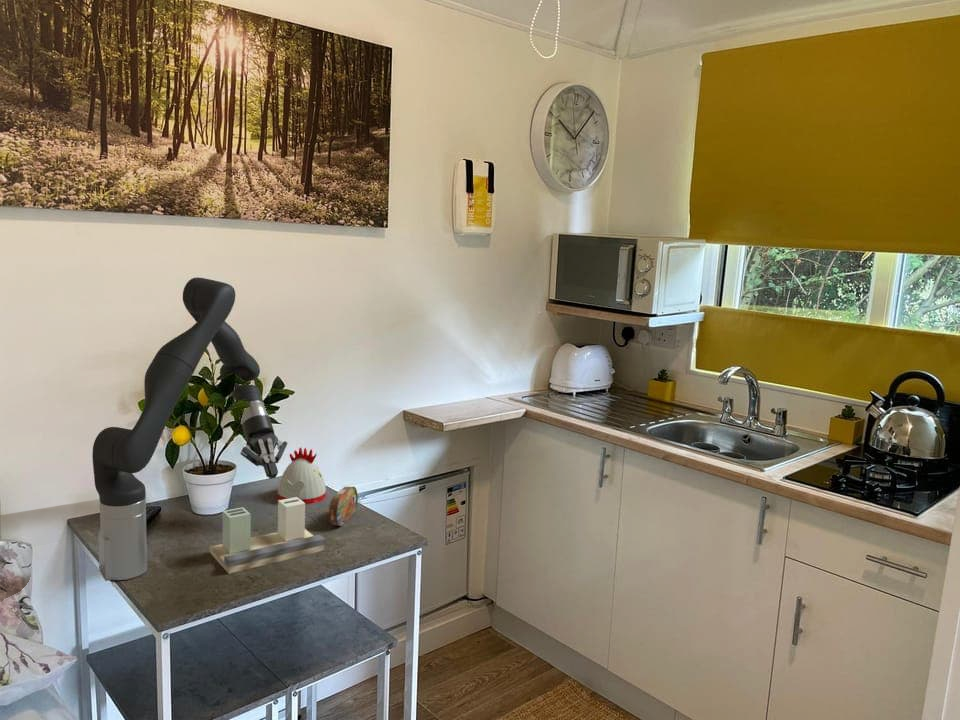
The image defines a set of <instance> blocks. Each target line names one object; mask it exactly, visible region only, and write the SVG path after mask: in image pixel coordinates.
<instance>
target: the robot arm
mask: <svg viewBox="0 0 960 720" xmlns="http://www.w3.org/2000/svg"><path fill="white" fill-rule="evenodd" d="M235 300H236V290H235V287H233V286H232V285H231V284H229V283H226V282H222V281H219V280H215V279H214V280H213V279H209V278H205V277H198V276H197V277H193V278H191V279H190V280H189V279H188V281H187V282H186V283H185V285H184V287H183V291H182V302H183V305H184V307H185V310H186V311H187V312H188V313H189V314H190V316H191V317H192V318H193V320H194V321H195V323H194V325H192V326H191V327H190V328H188V329H187V330H186V331H184V332H183V333H181V334H179V335H177V336H176V337H174V338H172V339H171V340H170V341H168V342H166V343H165V344H163V345H162V346H161V347H160V348H159V350H158V351H157V352H156V353H155V356H154V357H153V359H152V360H151V362H150V364H149V365H148V368H147V369H146V372H145V375H144V379H143V380H144V381H143V383H144V384H143V385H144V406H143V409H142V412H141V414H140V415H139V418H138V420H137V421H136V423H135V425H134V426H133V427H132V429H130V428H129V429H128V428H124V427H118V426H108V427H106V428H104V429H102V430H101V431H100V432H99V433H98V434H97V436H96V437H95V440H94V442H93V444H92V455H91V456H92V468H93V478H94V487H95V490H96V492H97V494H98V497H99V520H100V526H99V527H100V530H98V533H97V534H98V564H99V572H100V574H101V576H102V578H103V579H104V581H105V582H107V581H123V580H124V581H125V580H130V579H131V580H132V579H133V578H137V577H139V576H141V575H143V574H144V573H146V571H147V570H148V549H147V548H148V547H147V546H148V545H147V543H148V540H147V539H148V538H147V536H148V535H147V506H146V505H147V504H146V503H147V500H146V497H147V493H146V492H147V491H146V487H145V486H146V485H145V484H144V483H143V482H142V481H141V480H140V479H138V478H137V477H136V476H135V475H134V474H136V473H139V472H141V471H142V470H143V469H145V468H146V466H147V465H148V464H149V463H150V461H151V459H152V457H153V456H154V454H155V451H156V449H157V447H158V444H159V442H160V439H161V438H162V435H163V433H164V431H165V428H166V426H167V424H168V422H169V419H170V417H171V415H172V412H174V409H175V407H176V405H177V404H178V401H179V399H180V398H181V395H182V394H183V392H184V390H185V389H186V387H187V386H188V384H189V382H190V380H191V378H192V377H193V375H194V373H195V371H196V369H197V367H198V364H200V363H199V362H200V361H201V359H202V358H203V356H204V354H205V352H206V350H207V349H208V347H209V345H210V344H211V343H212V346H213V348H214V350H215V352H216V354H217V356H218V358H219V361H220V362H221V363H222V365H221V367H220V369H219V376H220V377H221V376H222V375H224V374H226V373H233V374H236V375H237V376H239V377H241V378H242V379H243V380H245V381H248V382H247V383H249V382H253V381H255V380H256V379H258V378H259V376H260V373H261V370H260V369H261V368H260V366H259V363H258V362H257V360H256V359H255V358H254V356H252V355H251V354H250V353H249V352H248V351H247V350H246V348H245V346H244V345H243V342H242V340H241V337H240V335H239V334H238V333H237V331H236V330H235V329H234V328H233V327H232V326H231V325H230V324H228V323H227V322H226V320H227V319H228V317H229V316H230V313H231V312H232V309H233V308H234V305H235ZM255 378H256V379H255ZM232 397H233V399H234V401H235V403H236V402H237V401H238V400H243V399H245V400H243V401H248V402H250V404H249V405H250V406H249V407H248V408H246V409H245V411H244V412H243V415H242V418H241V422H240V424H242V425H241V426H242V427H241V429H242V430H243V434H244V436H245V440H246V443H245V446H243V447H242V449H241V451H240V453H239V454H240V456H242V457H243V458H244V459H246V460H248V461H249V462H250V463H251V464H254V466H256V467H260V466H261V467H263V469H264V472H265V476H266V477H267V478H268V479H269V480H273V479H275V478H277V476H278V474H279V470H278V466H277V464H278V463H279V461H280V460H281V459H282V456H283V454H284V452H285V450H286V448H287V446H288V442H287V441H281V440H279V438H278V436H277V435H276V434H275V430H274V427H273V424H272V421H271V418H270V414H269V412H268V413H267V411H268V410H267V411H266V409H267V407H266V405H265V403H264V400H263V399H264V398H263V395H262V392H261V390H260V389H259V387H258V386H257V385H255V384H245V385H244V384H243V385H242V384H241V385H240V384H239V383H237V384H235V391H234V393H233V395H232ZM246 399H247V400H246ZM264 405H265V406H264ZM265 407H266V408H265ZM275 448H276V449H277V450H278V451H277V454H276V456H275V450H276V449H275Z"/></svg>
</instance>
